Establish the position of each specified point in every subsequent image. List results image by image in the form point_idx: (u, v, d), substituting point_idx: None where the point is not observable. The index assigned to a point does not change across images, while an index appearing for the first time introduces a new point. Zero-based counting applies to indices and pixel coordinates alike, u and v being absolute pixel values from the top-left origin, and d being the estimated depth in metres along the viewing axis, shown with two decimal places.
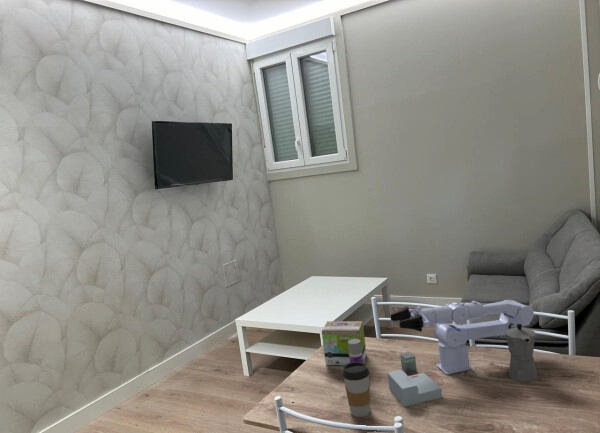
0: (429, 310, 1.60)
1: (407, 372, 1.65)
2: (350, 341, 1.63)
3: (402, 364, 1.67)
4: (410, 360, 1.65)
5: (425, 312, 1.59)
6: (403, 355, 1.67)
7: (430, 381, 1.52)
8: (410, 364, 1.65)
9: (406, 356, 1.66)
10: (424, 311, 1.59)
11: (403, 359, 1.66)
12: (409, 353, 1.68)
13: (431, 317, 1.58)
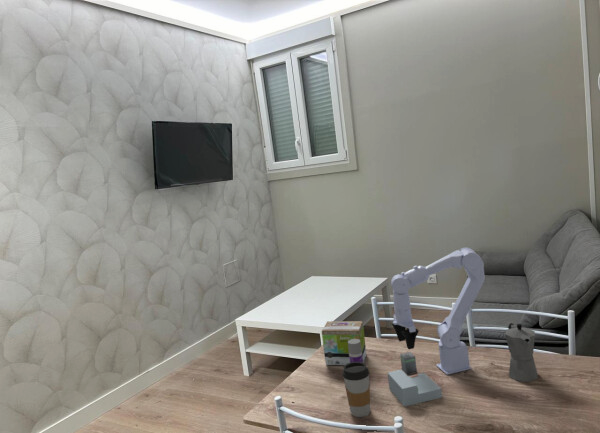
0: (397, 314, 1.63)
1: (407, 372, 1.65)
2: (350, 341, 1.63)
3: (402, 364, 1.67)
4: (410, 360, 1.65)
5: (399, 319, 1.63)
6: (403, 355, 1.67)
7: (430, 381, 1.52)
8: (410, 364, 1.65)
9: (406, 356, 1.66)
10: (398, 319, 1.63)
11: (403, 359, 1.66)
12: (409, 353, 1.68)
13: (404, 315, 1.62)
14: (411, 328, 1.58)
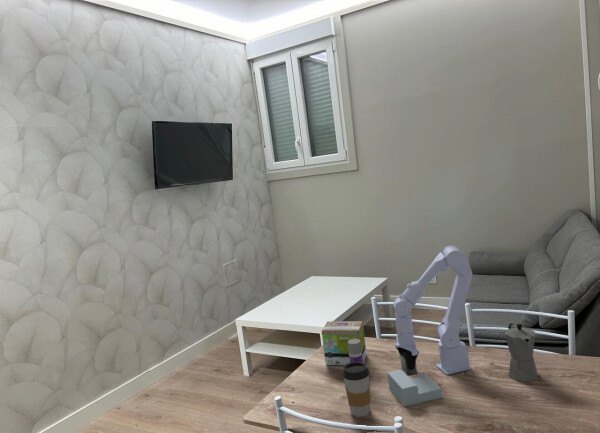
0: (399, 336, 1.64)
1: (407, 372, 1.65)
2: (350, 341, 1.63)
3: (402, 364, 1.67)
4: None
5: (401, 342, 1.64)
6: (403, 355, 1.67)
7: (430, 381, 1.52)
8: None
9: None
10: (400, 342, 1.64)
11: (403, 359, 1.66)
12: None
13: (406, 337, 1.63)
14: (414, 351, 1.59)
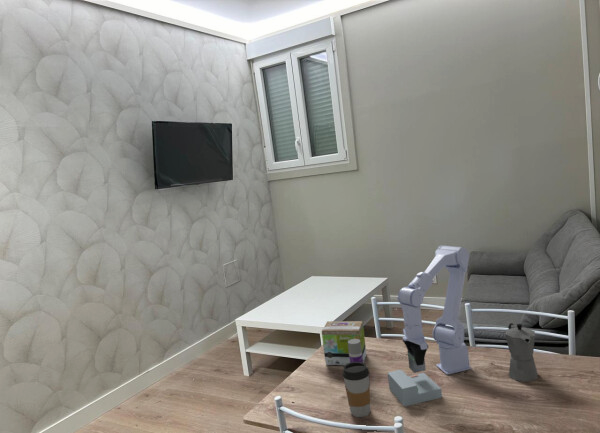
0: (407, 329, 1.51)
1: (415, 370, 1.52)
2: (350, 341, 1.63)
3: (410, 362, 1.55)
4: None
5: (409, 335, 1.51)
6: (411, 352, 1.54)
7: (430, 381, 1.52)
8: None
9: None
10: (408, 335, 1.51)
11: (411, 356, 1.53)
12: None
13: (414, 330, 1.50)
14: (423, 345, 1.46)
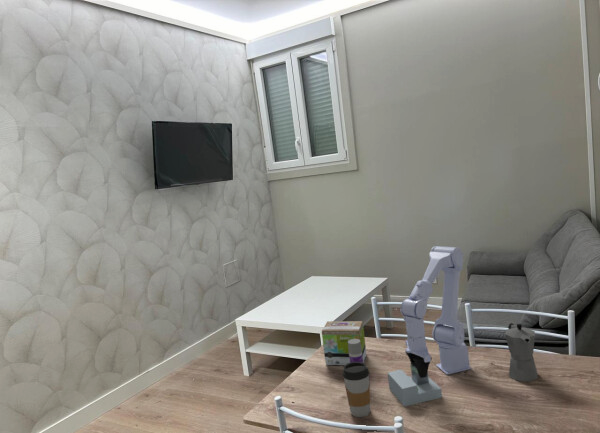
0: (410, 341, 1.50)
1: (418, 383, 1.51)
2: (350, 341, 1.63)
3: (413, 374, 1.53)
4: None
5: (412, 347, 1.49)
6: (414, 364, 1.52)
7: (430, 381, 1.52)
8: None
9: None
10: (411, 347, 1.50)
11: (414, 369, 1.51)
12: None
13: (418, 342, 1.48)
14: (426, 358, 1.44)
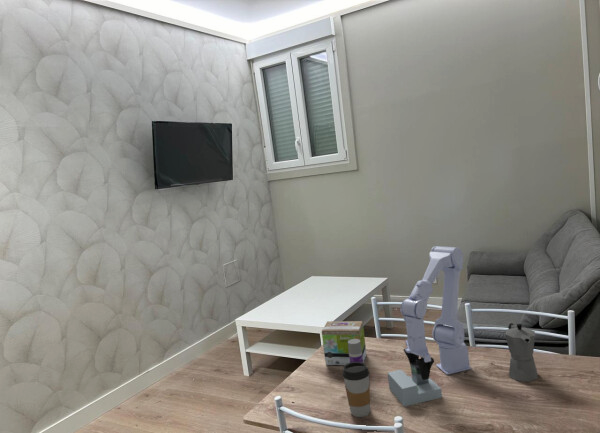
0: (410, 341, 1.50)
1: (418, 383, 1.51)
2: (350, 341, 1.63)
3: (413, 374, 1.53)
4: None
5: (412, 347, 1.49)
6: (414, 364, 1.52)
7: (430, 381, 1.52)
8: None
9: (417, 365, 1.52)
10: (411, 347, 1.50)
11: (414, 369, 1.51)
12: None
13: (418, 342, 1.48)
14: (426, 358, 1.44)
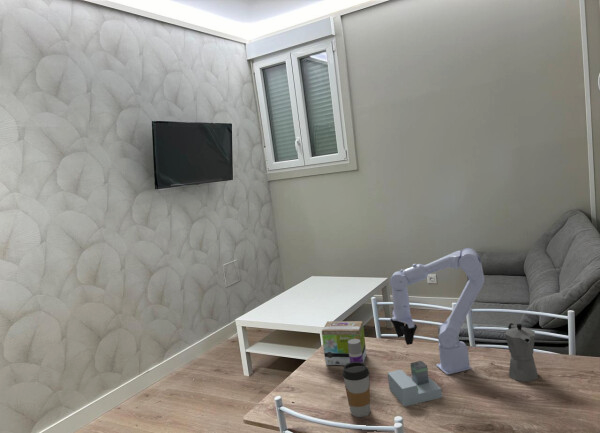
0: (396, 310, 1.66)
1: (418, 383, 1.51)
2: (350, 341, 1.63)
3: (413, 374, 1.53)
4: (422, 370, 1.50)
5: (398, 315, 1.66)
6: (414, 364, 1.52)
7: (430, 381, 1.52)
8: (421, 374, 1.50)
9: (417, 365, 1.52)
10: (397, 315, 1.66)
11: (414, 369, 1.51)
12: (420, 362, 1.53)
13: (403, 311, 1.65)
14: (410, 324, 1.61)
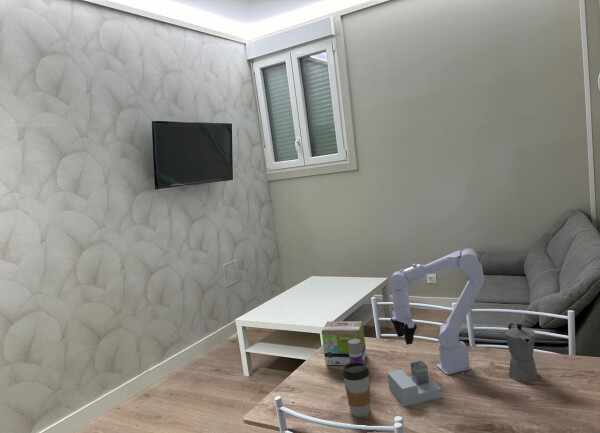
0: (396, 310, 1.66)
1: (418, 383, 1.51)
2: (350, 341, 1.63)
3: (413, 374, 1.53)
4: (422, 370, 1.50)
5: (398, 315, 1.66)
6: (414, 364, 1.52)
7: (430, 381, 1.52)
8: (421, 374, 1.50)
9: (417, 365, 1.52)
10: (397, 315, 1.66)
11: (414, 369, 1.51)
12: (420, 362, 1.53)
13: (402, 311, 1.65)
14: (410, 324, 1.61)
